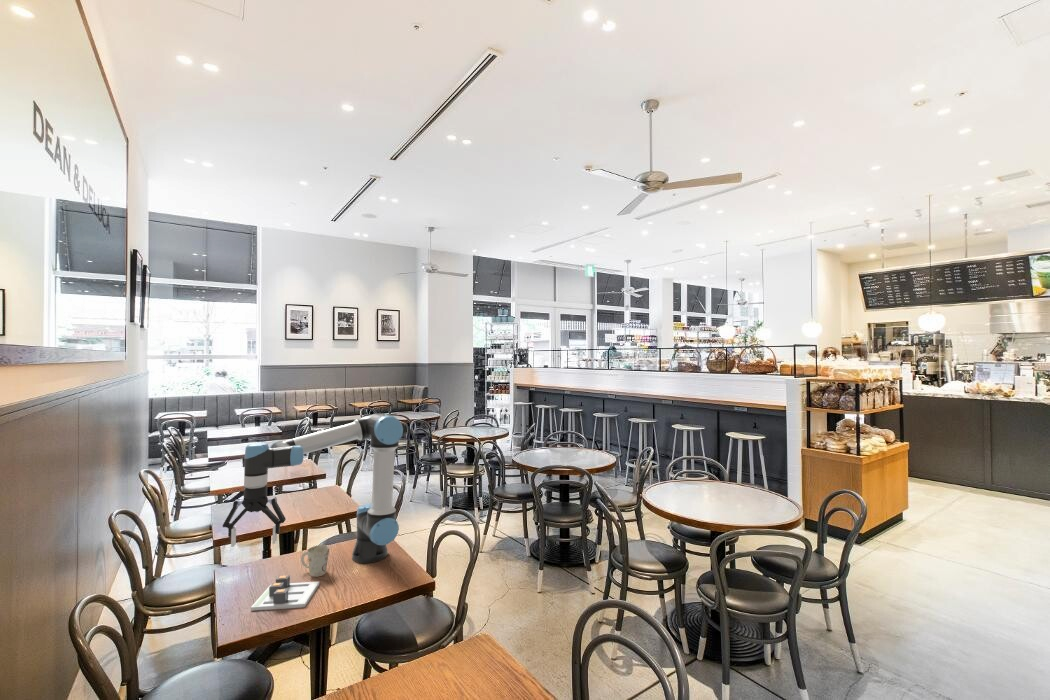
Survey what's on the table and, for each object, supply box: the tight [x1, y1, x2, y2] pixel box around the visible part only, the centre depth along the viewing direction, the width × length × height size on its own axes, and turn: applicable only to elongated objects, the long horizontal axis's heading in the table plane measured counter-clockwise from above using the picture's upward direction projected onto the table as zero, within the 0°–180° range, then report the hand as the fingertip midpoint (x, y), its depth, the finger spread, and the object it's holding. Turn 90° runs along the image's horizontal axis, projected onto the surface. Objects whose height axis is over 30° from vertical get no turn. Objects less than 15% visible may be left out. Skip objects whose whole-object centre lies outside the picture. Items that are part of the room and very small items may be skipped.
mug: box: [300, 544, 330, 578], centre depth 193 cm, size 8×13×10 cm, turn 78°
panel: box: [250, 575, 320, 612], centre depth 173 cm, size 18×17×5 cm
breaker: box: [273, 589, 288, 604], centre depth 167 cm, size 4×3×4 cm
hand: (254, 544), depth 171 cm, fingers open, 13 cm apart
